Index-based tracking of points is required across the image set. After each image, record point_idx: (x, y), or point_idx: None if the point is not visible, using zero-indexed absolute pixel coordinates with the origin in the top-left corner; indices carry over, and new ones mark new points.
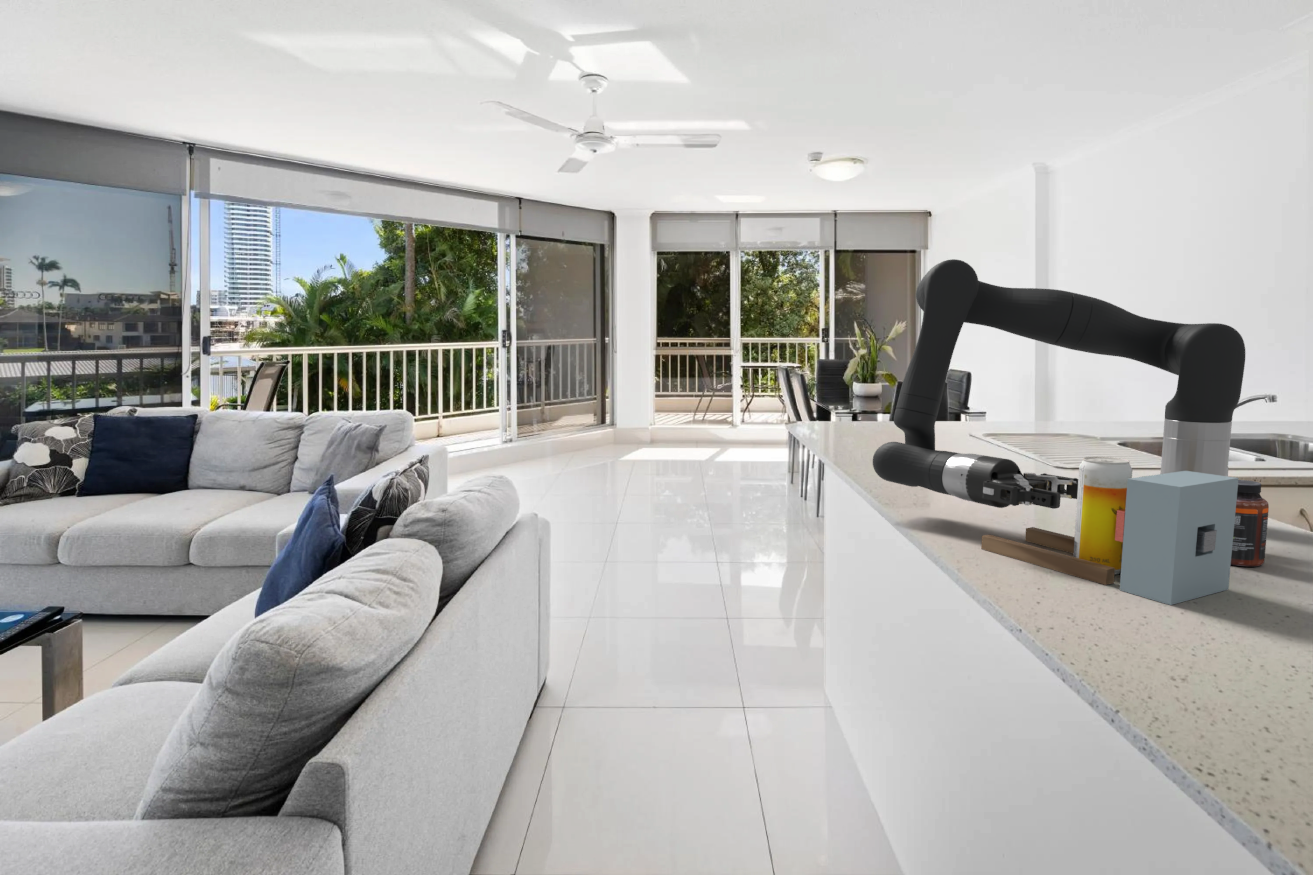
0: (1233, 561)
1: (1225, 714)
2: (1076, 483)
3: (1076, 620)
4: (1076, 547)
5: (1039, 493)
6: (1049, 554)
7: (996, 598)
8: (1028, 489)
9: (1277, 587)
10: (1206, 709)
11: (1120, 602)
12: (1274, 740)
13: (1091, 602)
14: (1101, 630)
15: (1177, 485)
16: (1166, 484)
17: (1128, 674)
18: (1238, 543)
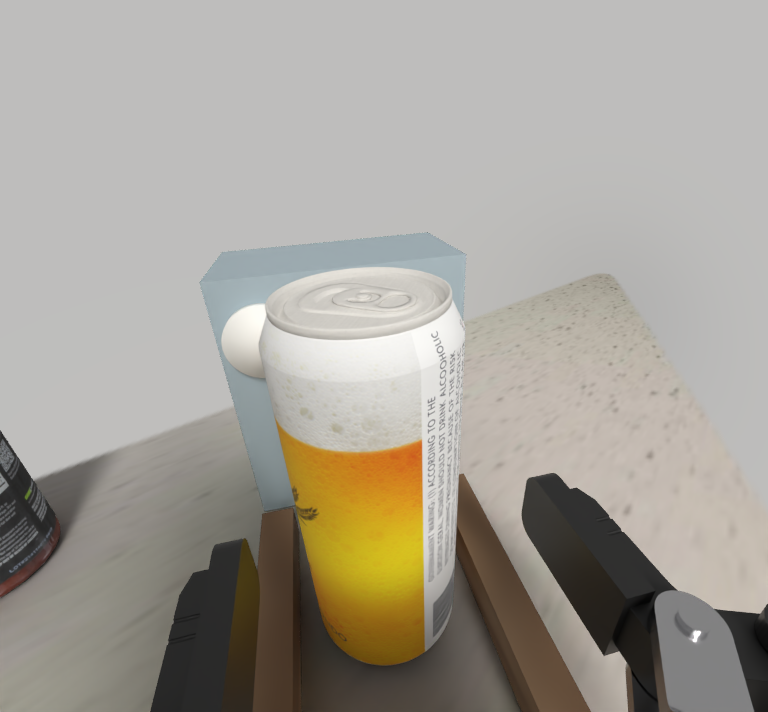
0: (58, 530)
1: (561, 307)
2: (206, 690)
3: (606, 403)
4: (453, 577)
5: (620, 542)
6: (540, 618)
7: (739, 483)
8: (688, 599)
9: (186, 441)
10: (571, 310)
11: (497, 436)
12: (552, 296)
13: (547, 442)
14: (585, 382)
15: (420, 235)
16: (432, 237)
17: (604, 333)
18: (38, 492)
